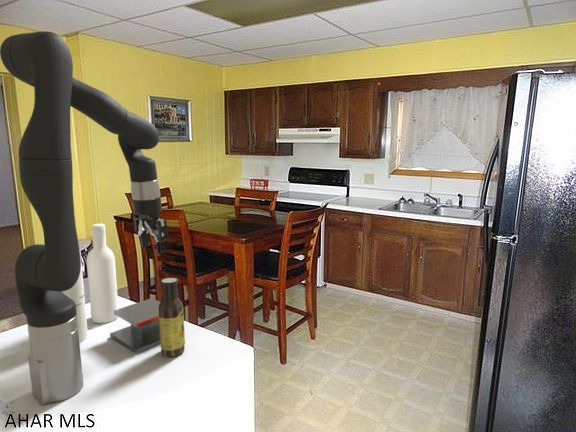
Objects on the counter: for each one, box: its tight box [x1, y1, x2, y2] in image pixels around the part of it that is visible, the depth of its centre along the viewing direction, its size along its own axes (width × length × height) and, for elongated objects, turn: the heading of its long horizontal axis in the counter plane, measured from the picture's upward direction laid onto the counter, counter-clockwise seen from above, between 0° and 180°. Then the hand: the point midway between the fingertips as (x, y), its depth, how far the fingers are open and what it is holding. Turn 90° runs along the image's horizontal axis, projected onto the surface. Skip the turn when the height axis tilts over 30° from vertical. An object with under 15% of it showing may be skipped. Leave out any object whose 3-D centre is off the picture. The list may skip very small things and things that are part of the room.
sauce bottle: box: [159, 277, 186, 358], centre depth 104 cm, size 6×6×20 cm
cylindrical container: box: [62, 250, 89, 343], centre depth 109 cm, size 7×7×25 cm
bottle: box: [86, 223, 120, 324], centre depth 122 cm, size 8×8×30 cm
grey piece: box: [109, 297, 161, 355], centre depth 113 cm, size 14×14×8 cm
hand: (153, 250), depth 115 cm, fingers open, 8 cm apart
